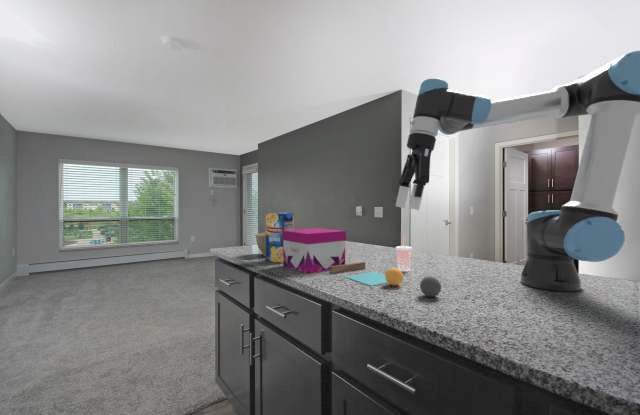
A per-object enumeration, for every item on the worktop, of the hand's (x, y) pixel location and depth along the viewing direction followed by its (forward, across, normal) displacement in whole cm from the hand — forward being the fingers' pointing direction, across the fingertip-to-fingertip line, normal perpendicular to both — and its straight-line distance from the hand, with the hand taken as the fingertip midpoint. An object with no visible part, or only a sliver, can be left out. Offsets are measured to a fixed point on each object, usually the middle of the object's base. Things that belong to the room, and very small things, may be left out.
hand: (406, 208), depth 88 cm
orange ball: (+22, -8, +3) cm, 24 cm away
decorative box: (+31, -38, -21) cm, 54 cm away
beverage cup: (+23, -30, +13) cm, 40 cm away
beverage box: (+35, -51, -36) cm, 72 cm away
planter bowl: (+37, -67, -42) cm, 87 cm away
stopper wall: (+28, -29, -8) cm, 41 cm away
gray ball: (+20, +4, +10) cm, 23 cm away
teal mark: (+26, -17, -1) cm, 31 cm away
